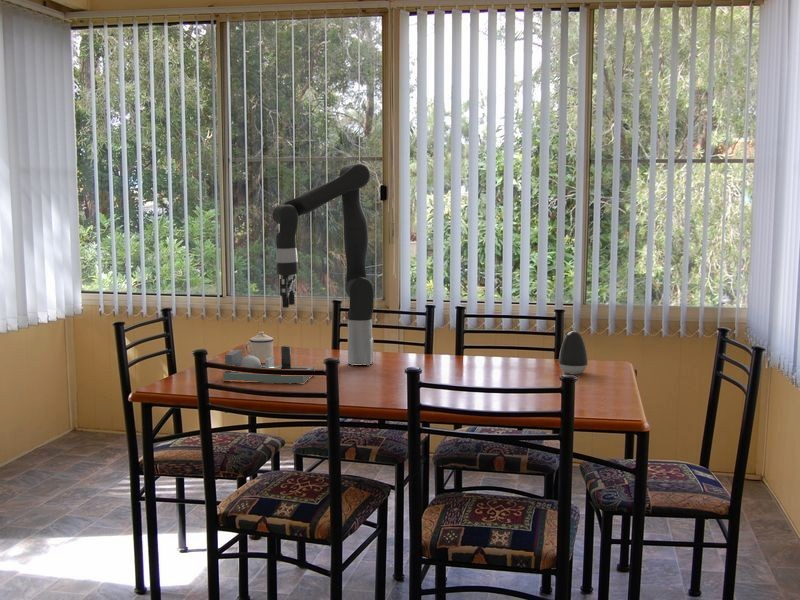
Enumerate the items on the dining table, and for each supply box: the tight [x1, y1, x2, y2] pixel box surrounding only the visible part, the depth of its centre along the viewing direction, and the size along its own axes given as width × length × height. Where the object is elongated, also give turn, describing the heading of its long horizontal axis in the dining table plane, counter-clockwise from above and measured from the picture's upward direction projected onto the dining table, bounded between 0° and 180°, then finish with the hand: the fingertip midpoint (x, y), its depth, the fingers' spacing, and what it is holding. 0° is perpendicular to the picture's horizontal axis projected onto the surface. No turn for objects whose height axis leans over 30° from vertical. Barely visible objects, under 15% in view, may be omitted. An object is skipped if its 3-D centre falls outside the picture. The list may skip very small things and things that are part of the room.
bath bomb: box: [239, 355, 263, 368], centre depth 289 cm, size 8×8×8 cm
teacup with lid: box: [243, 331, 274, 360], centre depth 321 cm, size 12×9×12 cm
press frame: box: [222, 349, 315, 385], centre depth 288 cm, size 28×15×9 cm, turn 82°
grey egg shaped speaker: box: [558, 330, 589, 375], centre depth 298 cm, size 10×10×15 cm
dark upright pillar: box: [264, 345, 292, 369], centre depth 288 cm, size 8×6×11 cm
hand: (288, 306), depth 298 cm, fingers open, 8 cm apart
